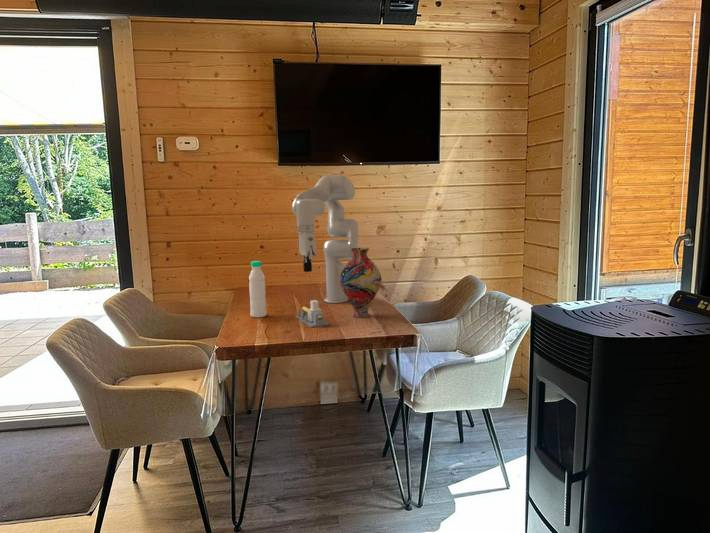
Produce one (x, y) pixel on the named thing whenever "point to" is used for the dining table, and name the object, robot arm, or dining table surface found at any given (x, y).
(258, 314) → the water bottle
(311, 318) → the small white bottle
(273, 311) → the dining table surface
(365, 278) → the vase
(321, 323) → the gray rack
